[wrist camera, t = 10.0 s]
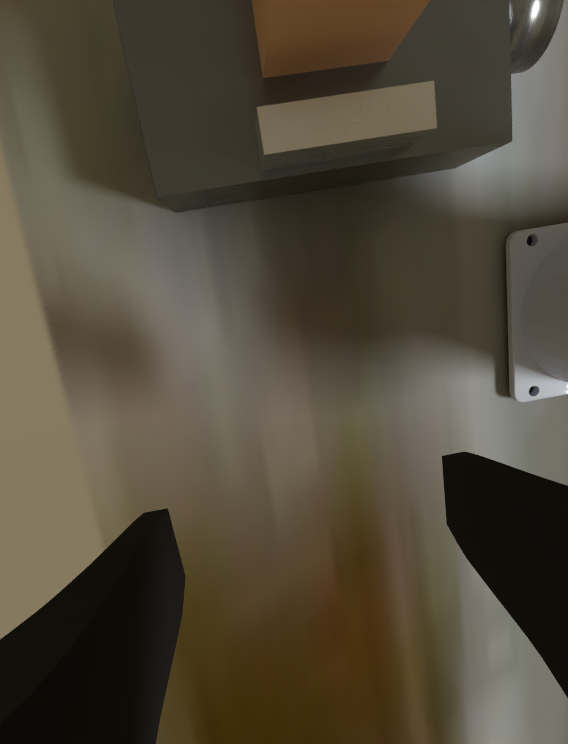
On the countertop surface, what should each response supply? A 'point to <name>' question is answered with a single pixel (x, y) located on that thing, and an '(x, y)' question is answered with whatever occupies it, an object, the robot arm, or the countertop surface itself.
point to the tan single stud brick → (329, 32)
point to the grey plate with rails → (320, 99)
